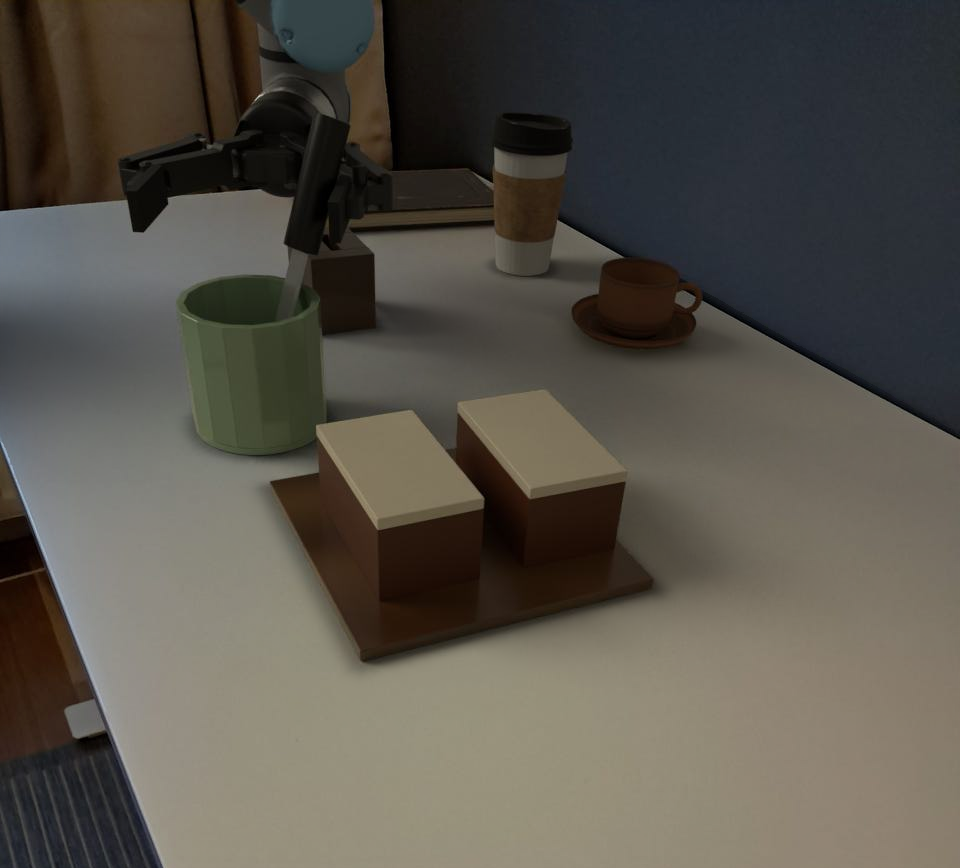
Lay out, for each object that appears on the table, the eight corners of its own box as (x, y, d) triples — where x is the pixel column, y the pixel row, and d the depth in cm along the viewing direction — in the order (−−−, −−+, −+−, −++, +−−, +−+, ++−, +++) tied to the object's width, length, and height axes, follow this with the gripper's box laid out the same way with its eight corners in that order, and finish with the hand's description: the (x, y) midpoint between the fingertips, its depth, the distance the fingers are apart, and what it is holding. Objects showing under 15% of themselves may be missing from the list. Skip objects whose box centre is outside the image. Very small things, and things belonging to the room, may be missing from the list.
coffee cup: (471, 257, 109) (478, 108, 99) (538, 250, 112) (550, 104, 102) (504, 284, 103) (514, 129, 94) (573, 275, 106) (590, 124, 97)
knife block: (291, 304, 96) (286, 231, 92) (349, 297, 99) (346, 225, 94) (315, 335, 91) (310, 260, 87) (376, 328, 93) (374, 253, 89)
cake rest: (320, 502, 68) (315, 424, 64) (411, 485, 70) (412, 409, 66) (379, 601, 60) (377, 519, 56) (480, 578, 62) (485, 497, 58)
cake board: (270, 490, 70) (269, 480, 70) (518, 445, 77) (519, 435, 77) (360, 662, 57) (360, 651, 56) (652, 588, 63) (654, 578, 63)
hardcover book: (506, 223, 119) (507, 203, 117) (319, 233, 113) (318, 213, 111) (466, 185, 130) (467, 167, 129) (295, 193, 124) (293, 173, 123)
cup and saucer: (659, 306, 101) (669, 245, 97) (714, 355, 92) (728, 290, 88) (551, 315, 98) (557, 252, 94) (598, 366, 89) (607, 299, 85)
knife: (239, 407, 77) (308, 109, 69) (271, 414, 79) (343, 122, 70) (248, 421, 75) (321, 113, 66) (280, 428, 76) (357, 126, 67)
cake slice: (454, 476, 71) (457, 401, 67) (538, 462, 74) (545, 388, 70) (523, 568, 63) (530, 488, 59) (614, 548, 65) (628, 470, 61)
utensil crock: (184, 404, 79) (164, 282, 73) (305, 386, 83) (296, 268, 76) (211, 464, 72) (192, 335, 66) (343, 442, 76) (337, 317, 70)
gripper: (433, 194, 85) (416, 282, 69) (148, 177, 85) (63, 263, 69) (435, 98, 80) (417, 168, 64) (132, 80, 80) (37, 147, 64)
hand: (234, 217), depth 66 cm, fingers open, 13 cm apart
